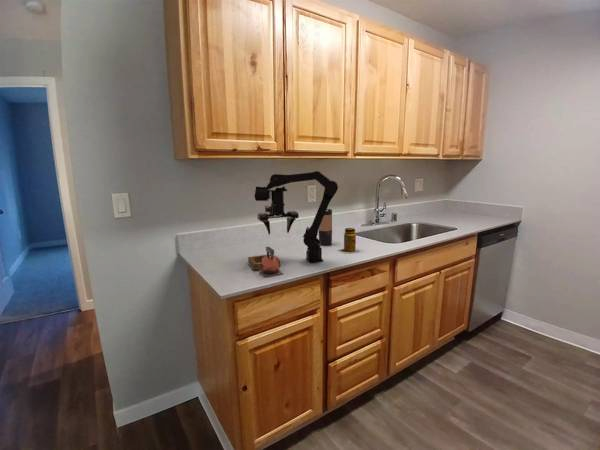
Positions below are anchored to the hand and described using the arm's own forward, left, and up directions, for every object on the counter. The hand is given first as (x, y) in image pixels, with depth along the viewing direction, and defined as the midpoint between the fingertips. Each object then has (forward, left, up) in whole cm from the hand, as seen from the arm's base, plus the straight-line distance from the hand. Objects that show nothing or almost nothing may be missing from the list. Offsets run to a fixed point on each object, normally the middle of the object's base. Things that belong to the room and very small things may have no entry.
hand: (278, 233), depth 148 cm
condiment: (-38, 0, -13) cm, 40 cm away
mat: (+9, +16, -13) cm, 22 cm away
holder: (+9, +5, -13) cm, 17 cm away
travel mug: (-33, -17, -13) cm, 39 cm away
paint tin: (+9, +16, -12) cm, 22 cm away
